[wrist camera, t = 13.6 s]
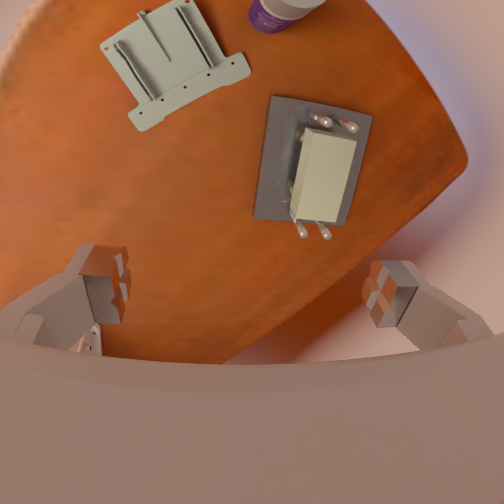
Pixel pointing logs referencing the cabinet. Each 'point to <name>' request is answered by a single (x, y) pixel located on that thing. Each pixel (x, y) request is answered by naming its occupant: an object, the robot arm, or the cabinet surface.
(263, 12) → the container
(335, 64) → the cabinet surface
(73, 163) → the cabinet surface
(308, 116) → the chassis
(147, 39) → the metal bracket
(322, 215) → the board
